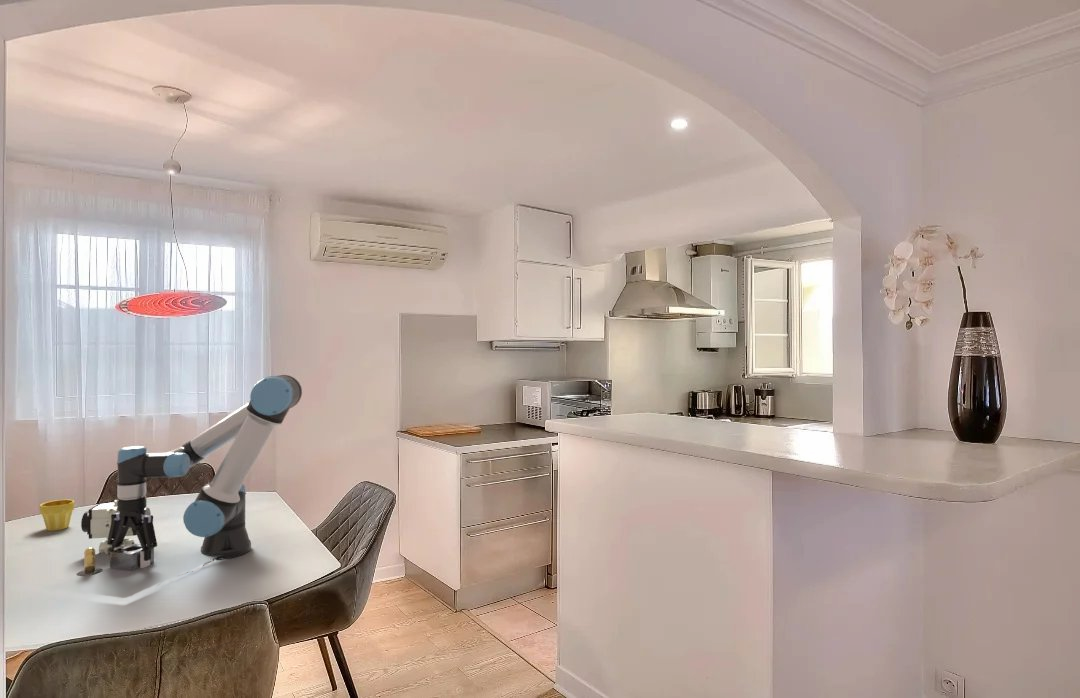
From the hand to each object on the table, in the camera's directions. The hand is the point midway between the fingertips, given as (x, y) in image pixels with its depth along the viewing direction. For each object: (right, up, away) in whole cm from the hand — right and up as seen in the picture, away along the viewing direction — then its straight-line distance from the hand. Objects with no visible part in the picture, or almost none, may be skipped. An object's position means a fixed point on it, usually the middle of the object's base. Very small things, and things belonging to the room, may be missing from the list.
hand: (132, 569), depth 190 cm
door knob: (-9, 0, -6) cm, 11 cm away
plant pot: (-57, 0, +43) cm, 71 cm away
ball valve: (-15, 0, +14) cm, 21 cm away
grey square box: (0, +1, 0) cm, 1 cm away
